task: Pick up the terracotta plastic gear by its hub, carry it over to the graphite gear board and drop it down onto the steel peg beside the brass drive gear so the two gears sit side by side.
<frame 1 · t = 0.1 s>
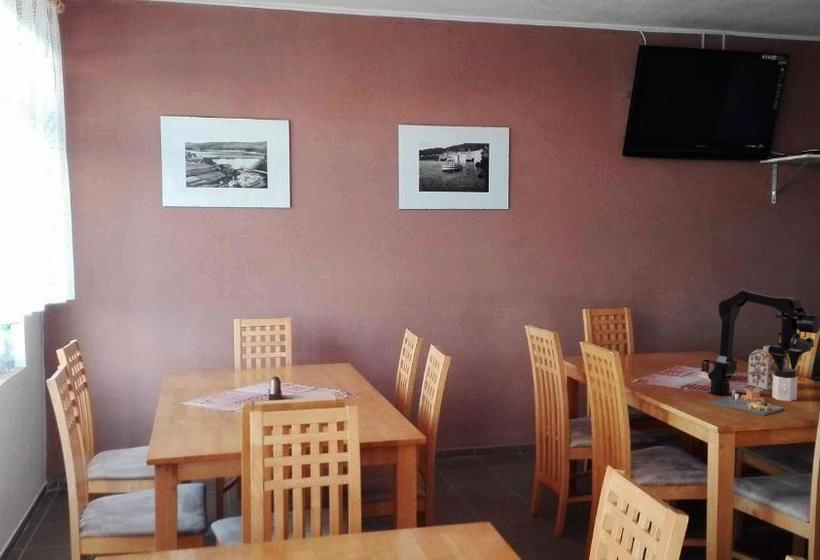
hand: (787, 370, 286), 15 cm above the table, tool pointing down, fingers open, 9 cm apart
decorative jar: (767, 387, 324), on the table
jar: (784, 399, 302), on the table
loose gear: (752, 400, 300), on the table
gear board: (746, 406, 288), on the table
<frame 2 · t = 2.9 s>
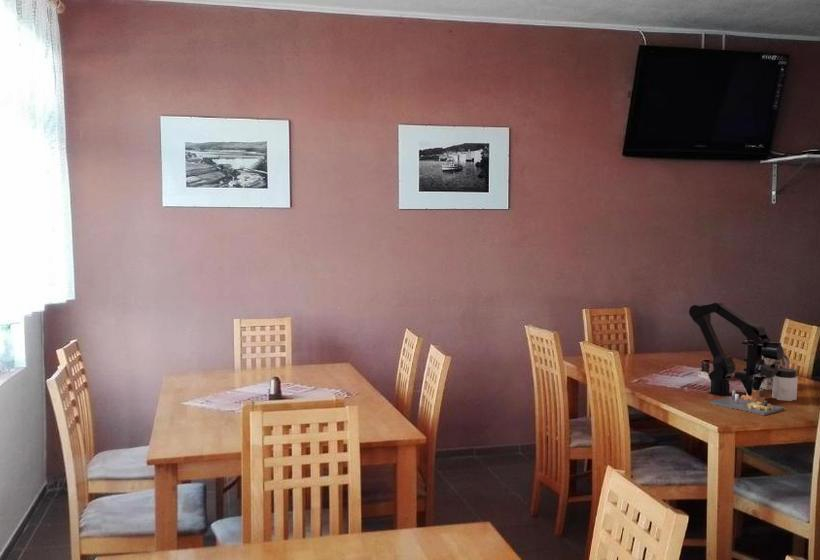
hand: (752, 394, 299), 2 cm above the table, tool pointing down, fingers closed on loose gear, 4 cm apart
loose gear: (752, 400, 300), on the table, touching gripper
everything else where it was.
when the fingers open (4 cm above the table, at t = 7.8 s): loose gear drops 1 cm, resting on gear board.
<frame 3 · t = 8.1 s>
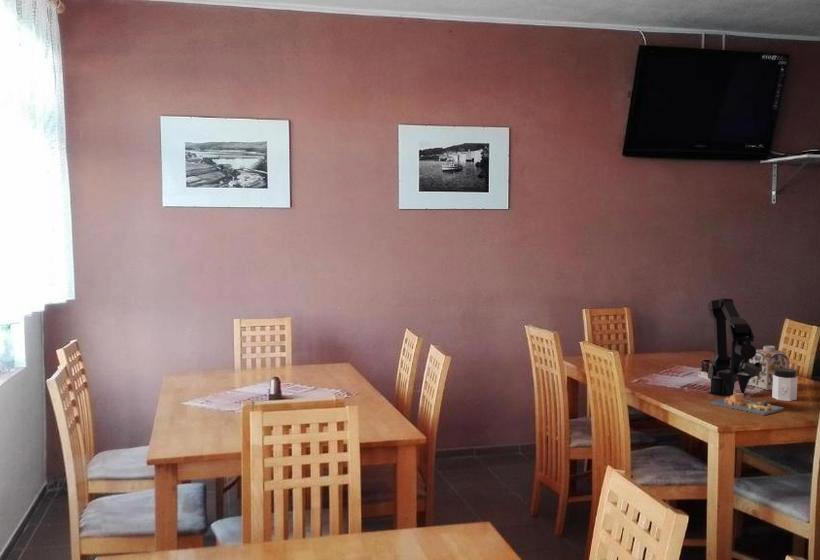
hand: (736, 394, 290), 4 cm above the table, tool pointing down, fingers open, 8 cm apart
loose gear: (736, 403, 290), point 1 cm above the table, touching gear board
everything else where it was.
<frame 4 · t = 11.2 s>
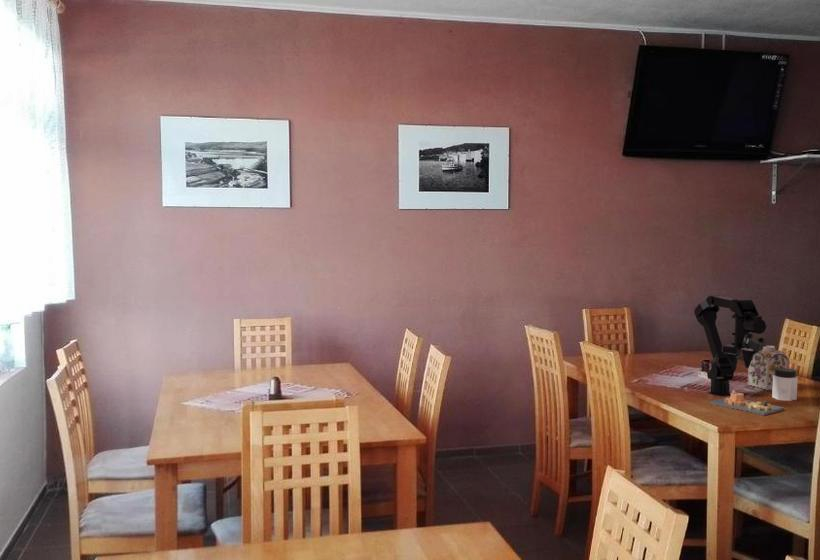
hand: (740, 369, 297), 13 cm above the table, tool pointing down, fingers open, 9 cm apart
nothing on the table moved.
at the end: loose gear 0.1 cm from the target spot on the gear board, point 1.0 cm above the gear board's base; loose gear tilted 0°; the gripper is holding nothing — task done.
